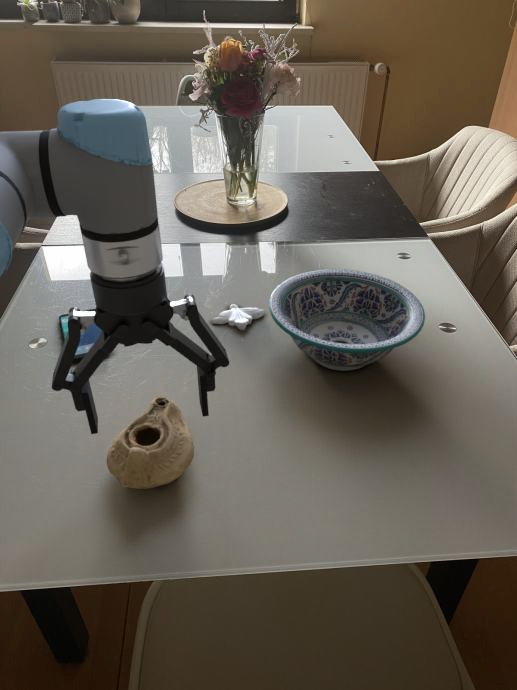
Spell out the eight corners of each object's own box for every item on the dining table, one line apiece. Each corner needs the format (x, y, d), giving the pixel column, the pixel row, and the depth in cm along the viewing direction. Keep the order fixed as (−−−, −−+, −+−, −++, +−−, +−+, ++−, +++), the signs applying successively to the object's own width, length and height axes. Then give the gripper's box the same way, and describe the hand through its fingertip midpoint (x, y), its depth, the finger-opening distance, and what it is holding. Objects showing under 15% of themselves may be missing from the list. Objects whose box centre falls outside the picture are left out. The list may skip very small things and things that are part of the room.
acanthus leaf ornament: (264, 315, 102) (264, 307, 101) (248, 333, 97) (248, 325, 96) (229, 305, 104) (229, 297, 103) (212, 323, 99) (211, 314, 98)
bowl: (359, 423, 78) (368, 372, 73) (237, 353, 92) (237, 305, 86) (441, 350, 93) (453, 303, 88) (325, 299, 107) (330, 255, 101)
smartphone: (67, 360, 88) (58, 314, 99) (68, 364, 88) (58, 318, 100) (111, 351, 90) (97, 307, 101) (111, 355, 91) (97, 310, 102)
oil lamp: (195, 419, 78) (192, 376, 74) (195, 503, 66) (192, 458, 62) (119, 423, 77) (111, 381, 73) (105, 509, 65) (94, 465, 61)
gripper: (-10, 298, 50) (43, 456, 62) (253, 269, 54) (253, 422, 67) (2, 262, 56) (49, 412, 68) (238, 239, 60) (241, 384, 73)
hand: (150, 417), depth 67 cm, fingers open, 13 cm apart
